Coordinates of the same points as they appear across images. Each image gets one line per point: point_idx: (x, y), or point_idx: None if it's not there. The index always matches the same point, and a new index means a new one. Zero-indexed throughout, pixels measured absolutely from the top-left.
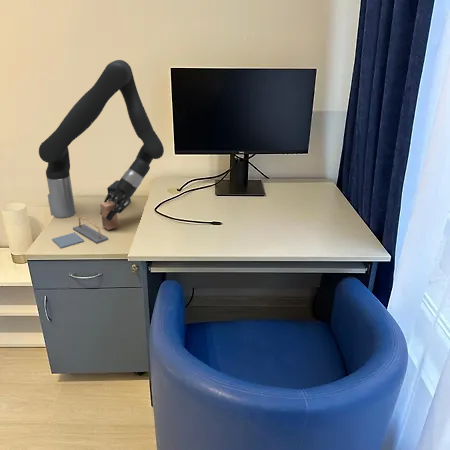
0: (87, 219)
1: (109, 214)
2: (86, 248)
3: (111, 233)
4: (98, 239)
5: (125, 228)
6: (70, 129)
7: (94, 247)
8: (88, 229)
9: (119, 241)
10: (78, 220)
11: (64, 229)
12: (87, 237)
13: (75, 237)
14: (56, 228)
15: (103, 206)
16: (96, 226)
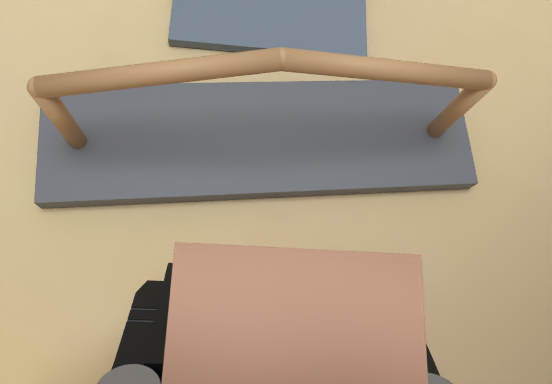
0: (276, 48)
1: (156, 313)
2: (43, 3)
3: None
4: (76, 121)
5: None
6: None
7: (6, 51)
8: (338, 157)
9: None
10: (464, 89)
11: (487, 44)
12: (207, 88)
13: (269, 18)
14: (537, 13)
15: (266, 251)
16: (77, 71)
